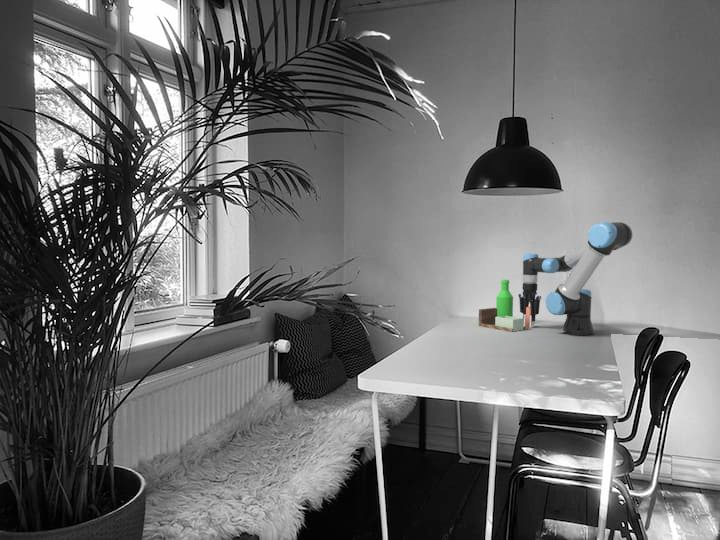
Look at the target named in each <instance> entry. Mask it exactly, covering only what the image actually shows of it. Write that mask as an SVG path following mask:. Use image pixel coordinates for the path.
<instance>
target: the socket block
mask: <svg viewBox="0 0 720 540" xmlns="http://www.w3.org/2000/svg"><path fill="white" fill-rule="evenodd" d="M495 326H500V327H505V328H511V329H513V331H514V332H516V331H517V332H521V330H522V331H524V330H523V328H524V318H523V317H517V316H513V317H511V316H499V317H495Z"/></svg>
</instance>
